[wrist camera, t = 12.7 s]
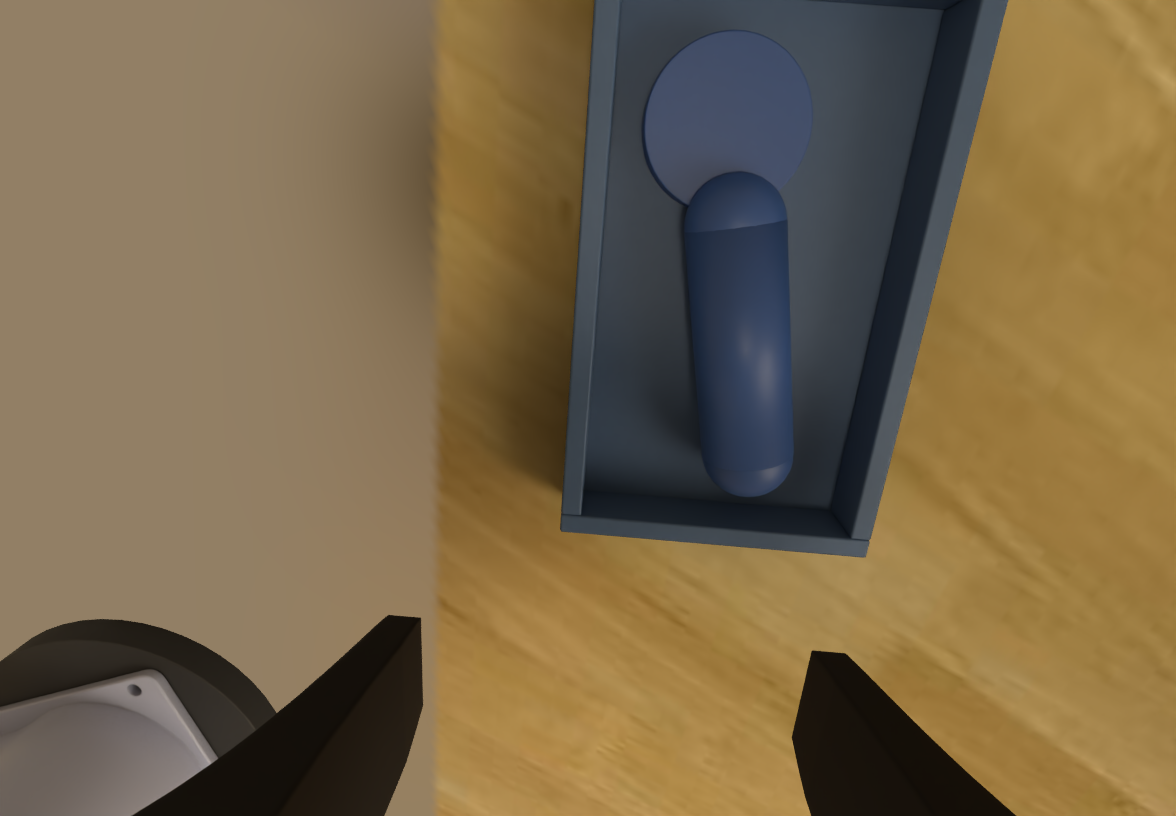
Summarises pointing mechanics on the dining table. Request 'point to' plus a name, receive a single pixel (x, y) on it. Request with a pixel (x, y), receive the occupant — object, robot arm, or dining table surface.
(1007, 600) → the dining table surface
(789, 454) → the blue spoon
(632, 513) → the tray
